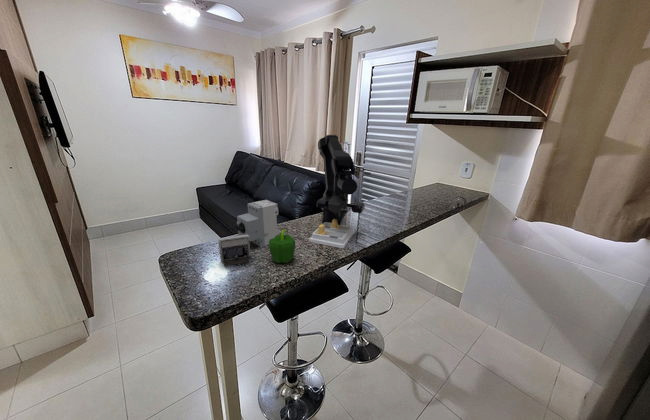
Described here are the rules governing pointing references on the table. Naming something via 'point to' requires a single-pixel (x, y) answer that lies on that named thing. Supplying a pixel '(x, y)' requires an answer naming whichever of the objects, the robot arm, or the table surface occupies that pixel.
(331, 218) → the robot arm
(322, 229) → the near tab
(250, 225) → the circuit breaker
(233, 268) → the table surface
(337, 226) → the far tab
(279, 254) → the bell pepper
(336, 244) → the switch bank
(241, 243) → the electrical switch
